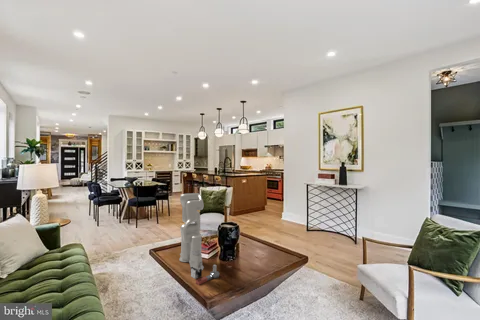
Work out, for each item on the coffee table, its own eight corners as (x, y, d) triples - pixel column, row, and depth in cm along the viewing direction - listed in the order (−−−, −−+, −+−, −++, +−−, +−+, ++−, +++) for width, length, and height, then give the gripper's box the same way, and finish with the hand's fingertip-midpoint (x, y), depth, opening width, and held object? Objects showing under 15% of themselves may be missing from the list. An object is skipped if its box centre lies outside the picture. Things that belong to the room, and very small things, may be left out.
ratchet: (194, 282, 181) (194, 270, 180) (214, 273, 195) (215, 262, 195) (200, 285, 176) (200, 273, 176) (221, 276, 191) (221, 265, 190)
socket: (190, 276, 190) (191, 268, 190) (196, 274, 194) (196, 266, 193) (195, 278, 186) (195, 270, 186) (201, 276, 190) (201, 268, 190)
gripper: (185, 250, 193) (185, 272, 193) (199, 256, 181) (199, 280, 181) (193, 247, 198) (193, 269, 198) (207, 253, 186) (207, 276, 187)
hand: (196, 274), depth 190 cm, fingers open, 8 cm apart
